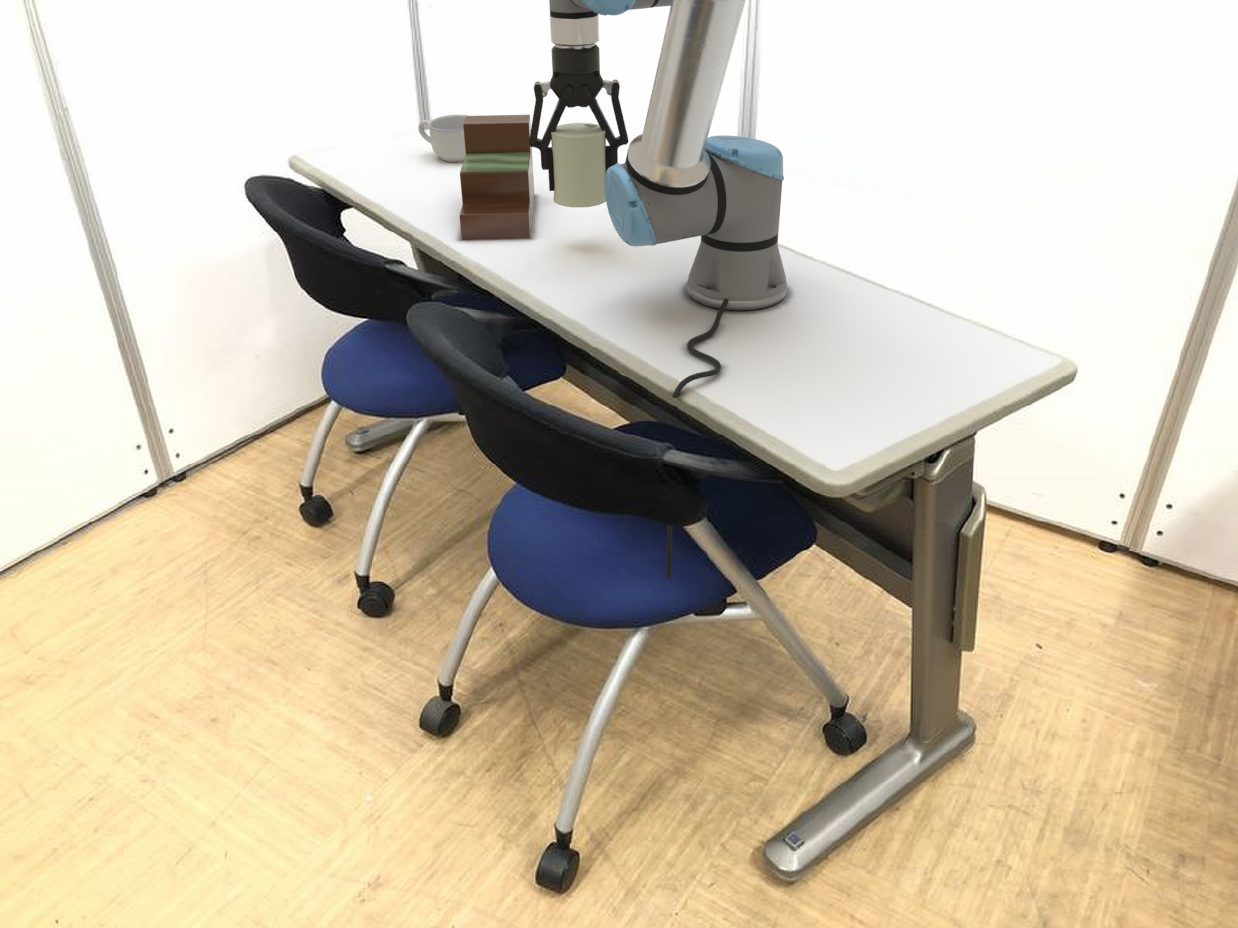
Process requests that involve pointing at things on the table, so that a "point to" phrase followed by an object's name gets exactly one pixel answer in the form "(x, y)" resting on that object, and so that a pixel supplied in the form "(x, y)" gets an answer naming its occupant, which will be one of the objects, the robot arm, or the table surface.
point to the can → (579, 164)
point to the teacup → (446, 136)
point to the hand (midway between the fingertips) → (580, 187)
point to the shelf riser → (497, 178)
